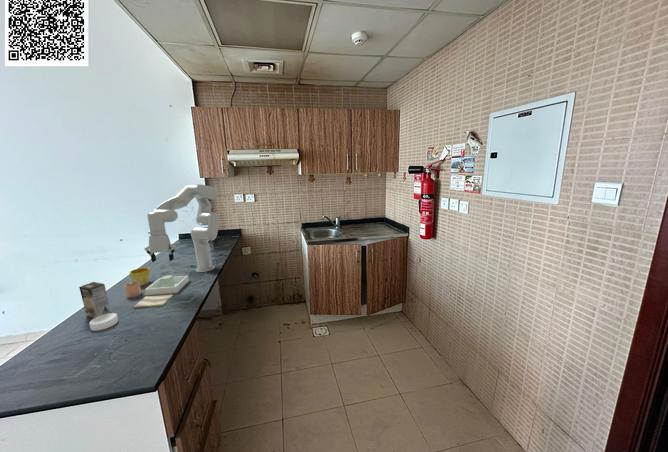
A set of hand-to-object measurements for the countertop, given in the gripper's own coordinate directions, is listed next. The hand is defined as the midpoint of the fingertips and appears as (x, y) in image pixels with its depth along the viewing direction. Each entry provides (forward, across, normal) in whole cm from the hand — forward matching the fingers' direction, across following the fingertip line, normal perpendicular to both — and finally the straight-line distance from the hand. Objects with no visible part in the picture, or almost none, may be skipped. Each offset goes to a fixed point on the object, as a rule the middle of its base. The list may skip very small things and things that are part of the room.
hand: (162, 260), depth 156 cm
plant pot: (+18, -21, +12) cm, 30 cm away
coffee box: (+19, -22, -24) cm, 38 cm away
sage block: (+18, 0, +1) cm, 18 cm away
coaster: (+20, -12, -35) cm, 42 cm away
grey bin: (+18, 0, +1) cm, 18 cm away
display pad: (+19, 0, -15) cm, 24 cm away
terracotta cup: (+18, -16, -5) cm, 25 cm away
